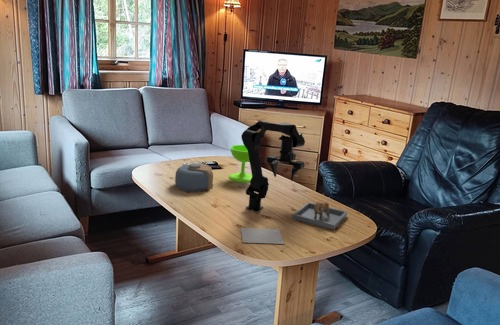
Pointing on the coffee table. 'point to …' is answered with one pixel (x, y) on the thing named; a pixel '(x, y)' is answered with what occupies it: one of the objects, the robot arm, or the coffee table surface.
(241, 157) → the wineglass
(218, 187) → the coffee table surface
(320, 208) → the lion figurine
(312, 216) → the tray
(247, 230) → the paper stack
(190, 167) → the alarm clock
